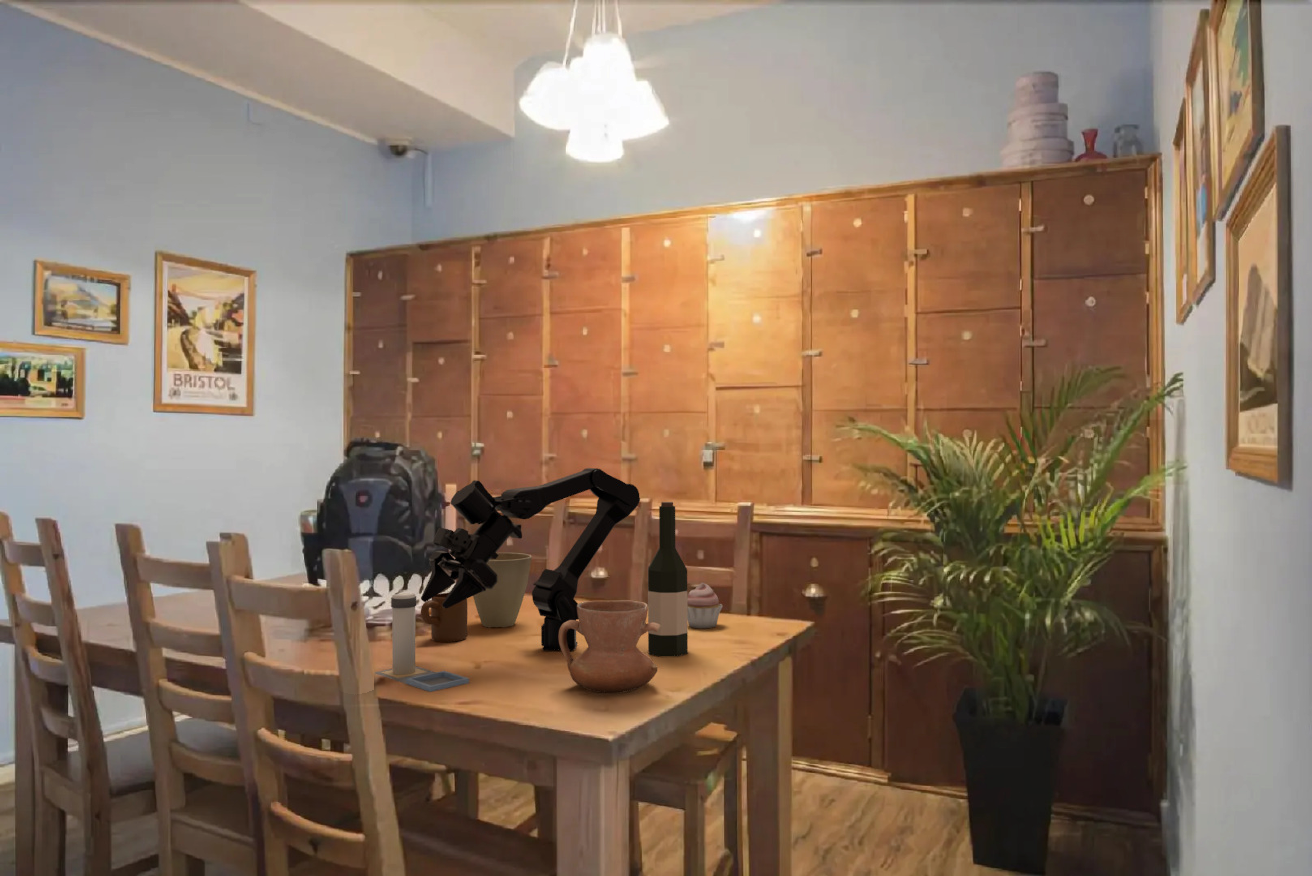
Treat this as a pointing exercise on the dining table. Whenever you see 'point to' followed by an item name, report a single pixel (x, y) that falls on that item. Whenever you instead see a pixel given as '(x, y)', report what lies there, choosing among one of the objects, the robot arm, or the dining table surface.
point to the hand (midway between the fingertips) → (432, 603)
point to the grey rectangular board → (427, 679)
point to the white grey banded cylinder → (403, 633)
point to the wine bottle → (667, 591)
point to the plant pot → (504, 590)
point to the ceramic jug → (610, 646)
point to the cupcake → (703, 607)
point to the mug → (445, 619)
